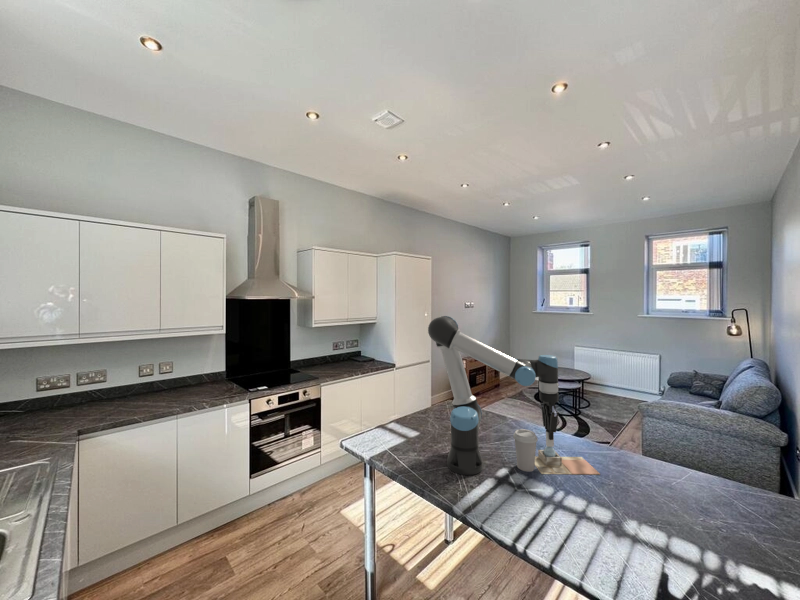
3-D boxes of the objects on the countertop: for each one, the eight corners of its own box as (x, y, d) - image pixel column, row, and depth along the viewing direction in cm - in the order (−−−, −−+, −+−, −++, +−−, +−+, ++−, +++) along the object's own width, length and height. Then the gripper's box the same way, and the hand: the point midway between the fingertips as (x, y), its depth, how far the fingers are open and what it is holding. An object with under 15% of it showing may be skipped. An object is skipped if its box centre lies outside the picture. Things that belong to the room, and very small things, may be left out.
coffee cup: (533, 463, 135) (533, 428, 135) (541, 475, 126) (541, 438, 126) (511, 462, 136) (510, 428, 136) (517, 474, 127) (516, 437, 127)
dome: (546, 460, 133) (546, 448, 133) (542, 454, 138) (542, 444, 138) (557, 460, 133) (557, 448, 133) (552, 455, 138) (552, 444, 138)
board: (541, 475, 126) (541, 465, 126) (528, 458, 140) (528, 449, 140) (600, 476, 125) (600, 466, 125) (581, 458, 139) (581, 449, 139)
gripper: (564, 395, 129) (566, 453, 129) (551, 387, 142) (552, 439, 142) (546, 395, 129) (547, 453, 129) (534, 387, 142) (535, 439, 142)
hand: (549, 445), depth 135 cm, fingers closed
